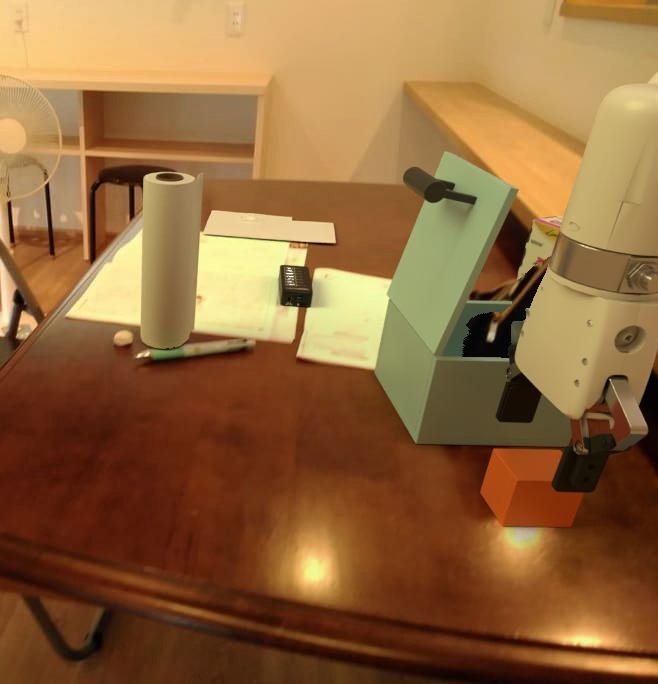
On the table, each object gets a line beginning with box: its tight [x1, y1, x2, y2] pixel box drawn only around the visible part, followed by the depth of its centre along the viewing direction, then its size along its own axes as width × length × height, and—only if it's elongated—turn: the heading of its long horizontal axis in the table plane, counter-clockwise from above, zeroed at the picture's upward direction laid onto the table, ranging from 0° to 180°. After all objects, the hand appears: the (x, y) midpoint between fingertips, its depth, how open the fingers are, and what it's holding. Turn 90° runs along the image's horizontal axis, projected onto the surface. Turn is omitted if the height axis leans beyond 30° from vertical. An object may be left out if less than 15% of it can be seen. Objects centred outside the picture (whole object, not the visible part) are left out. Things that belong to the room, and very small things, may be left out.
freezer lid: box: [386, 151, 520, 356], centre depth 68 cm, size 16×15×6 cm
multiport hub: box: [278, 264, 314, 308], centre depth 104 cm, size 4×11×2 cm, turn 172°
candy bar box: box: [515, 215, 564, 281], centre depth 85 cm, size 11×5×16 cm, turn 22°
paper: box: [202, 209, 337, 244], centre depth 133 cm, size 25×17×1 cm
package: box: [479, 447, 585, 528], centre depth 60 cm, size 6×4×5 cm
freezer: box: [373, 298, 572, 448], centre depth 74 cm, size 16×15×10 cm
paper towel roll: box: [139, 171, 205, 350], centre depth 85 cm, size 7×6×21 cm
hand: (540, 453), depth 58 cm, fingers open, 9 cm apart
